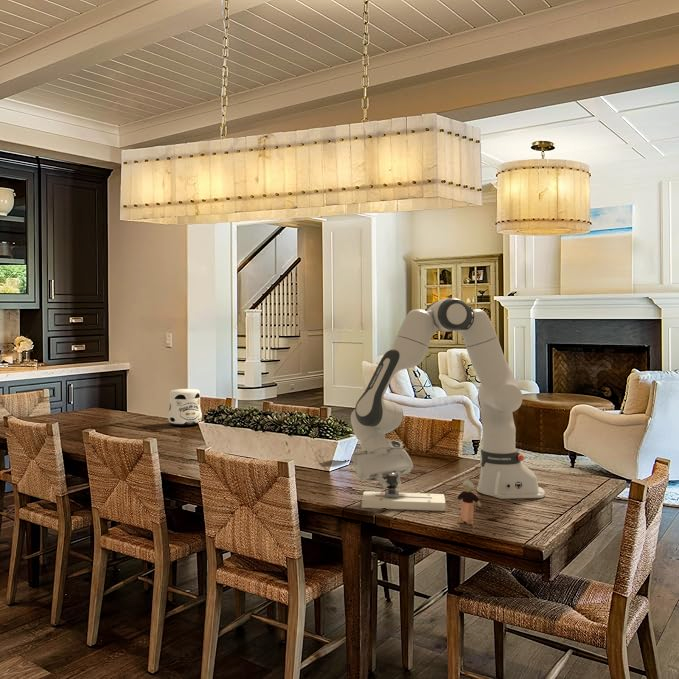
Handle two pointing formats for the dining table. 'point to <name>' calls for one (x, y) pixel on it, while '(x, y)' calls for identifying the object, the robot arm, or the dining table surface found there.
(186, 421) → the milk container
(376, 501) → the fader console
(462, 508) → the grandmother figurine
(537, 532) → the dining table surface
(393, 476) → the fader
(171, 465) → the dining table surface
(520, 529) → the dining table surface
